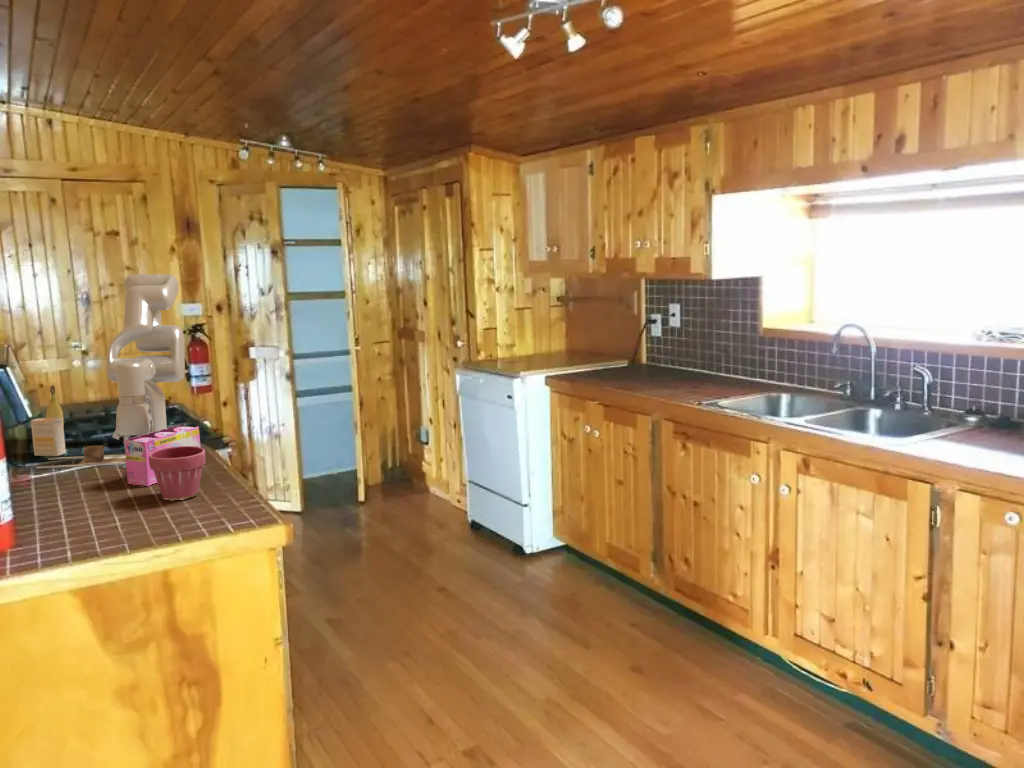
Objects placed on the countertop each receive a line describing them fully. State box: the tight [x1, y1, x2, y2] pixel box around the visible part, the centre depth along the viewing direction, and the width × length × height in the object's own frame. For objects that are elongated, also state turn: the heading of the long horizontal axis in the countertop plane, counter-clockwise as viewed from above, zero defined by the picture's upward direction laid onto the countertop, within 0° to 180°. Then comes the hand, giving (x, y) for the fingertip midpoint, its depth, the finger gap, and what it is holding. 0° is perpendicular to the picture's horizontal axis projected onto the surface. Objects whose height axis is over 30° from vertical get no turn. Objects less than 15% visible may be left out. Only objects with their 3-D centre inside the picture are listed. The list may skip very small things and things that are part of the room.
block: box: [83, 444, 105, 463], centre depth 252 cm, size 4×4×4 cm
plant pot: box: [149, 446, 207, 499], centre depth 218 cm, size 14×14×13 cm
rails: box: [35, 453, 127, 469], centre depth 252 cm, size 30×12×2 cm, turn 102°
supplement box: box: [30, 417, 67, 457], centre depth 260 cm, size 8×5×13 cm, turn 84°
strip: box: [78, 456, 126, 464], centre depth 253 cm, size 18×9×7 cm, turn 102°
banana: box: [45, 384, 65, 429], centre depth 277 cm, size 23×6×20 cm, turn 23°
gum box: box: [124, 424, 202, 487], centre depth 239 cm, size 24×8×14 cm, turn 160°
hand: (136, 455), depth 255 cm, fingers closed on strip, 3 cm apart
